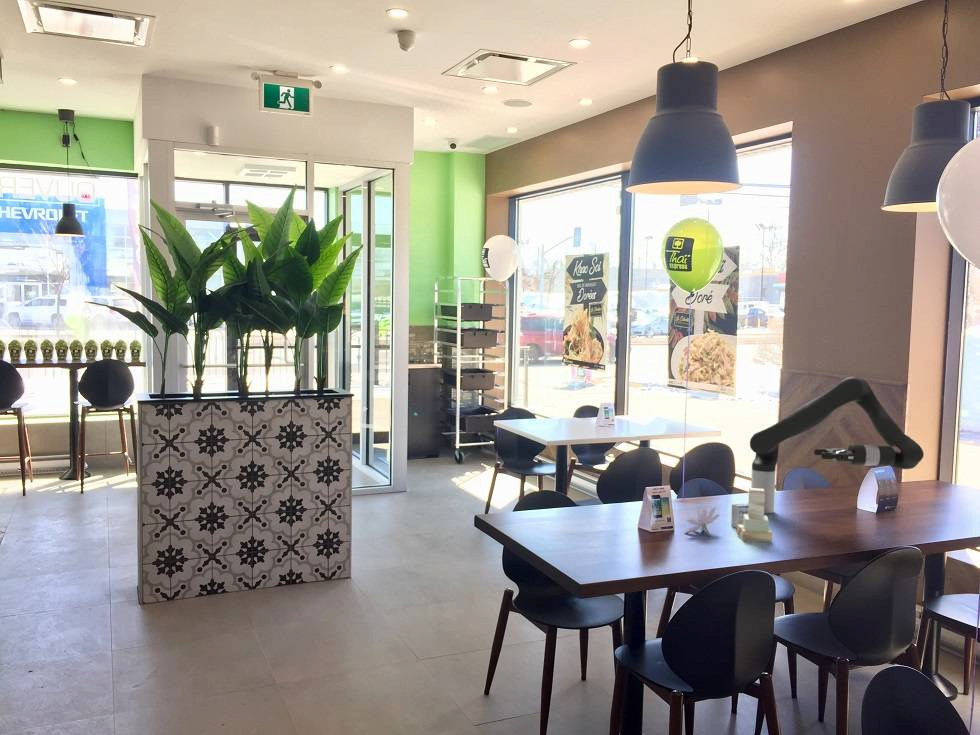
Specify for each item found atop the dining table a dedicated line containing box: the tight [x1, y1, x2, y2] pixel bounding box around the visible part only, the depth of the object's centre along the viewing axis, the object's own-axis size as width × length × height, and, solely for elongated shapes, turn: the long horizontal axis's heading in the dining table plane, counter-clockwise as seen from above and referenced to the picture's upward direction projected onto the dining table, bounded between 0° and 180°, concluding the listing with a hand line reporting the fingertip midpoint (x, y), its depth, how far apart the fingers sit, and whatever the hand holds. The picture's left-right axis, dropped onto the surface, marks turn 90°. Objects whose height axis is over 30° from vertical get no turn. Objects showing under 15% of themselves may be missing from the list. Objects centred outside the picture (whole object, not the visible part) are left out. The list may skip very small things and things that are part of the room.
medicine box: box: [730, 503, 748, 529], centre depth 317 cm, size 8×4×9 cm, turn 105°
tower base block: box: [736, 524, 773, 542], centre depth 301 cm, size 10×10×4 cm
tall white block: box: [747, 487, 765, 519], centre depth 300 cm, size 5×5×10 cm
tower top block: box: [743, 514, 770, 532], centre depth 300 cm, size 8×8×4 cm
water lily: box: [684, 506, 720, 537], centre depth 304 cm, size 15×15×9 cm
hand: (818, 453), depth 306 cm, fingers open, 8 cm apart
